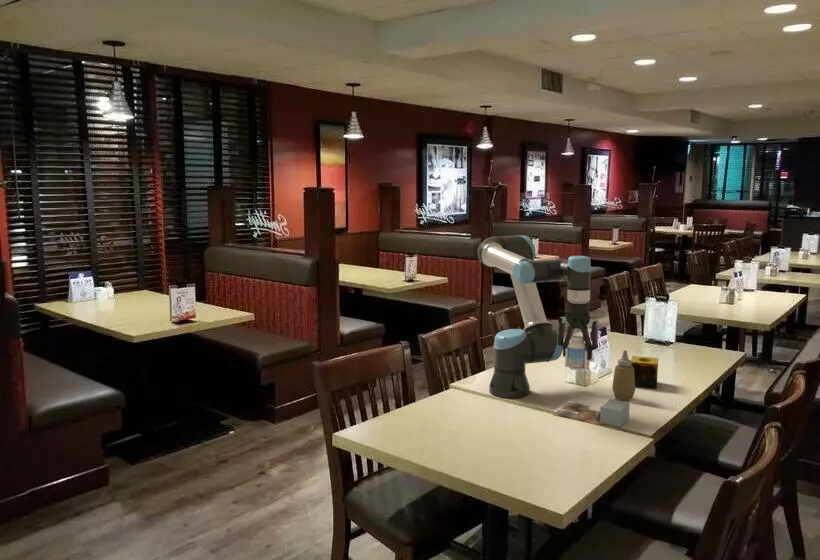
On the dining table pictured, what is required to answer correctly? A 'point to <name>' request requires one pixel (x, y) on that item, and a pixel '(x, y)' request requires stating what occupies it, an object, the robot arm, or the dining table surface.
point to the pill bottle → (576, 353)
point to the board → (580, 414)
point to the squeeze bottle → (624, 379)
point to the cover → (614, 413)
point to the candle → (645, 371)
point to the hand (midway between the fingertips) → (577, 367)
